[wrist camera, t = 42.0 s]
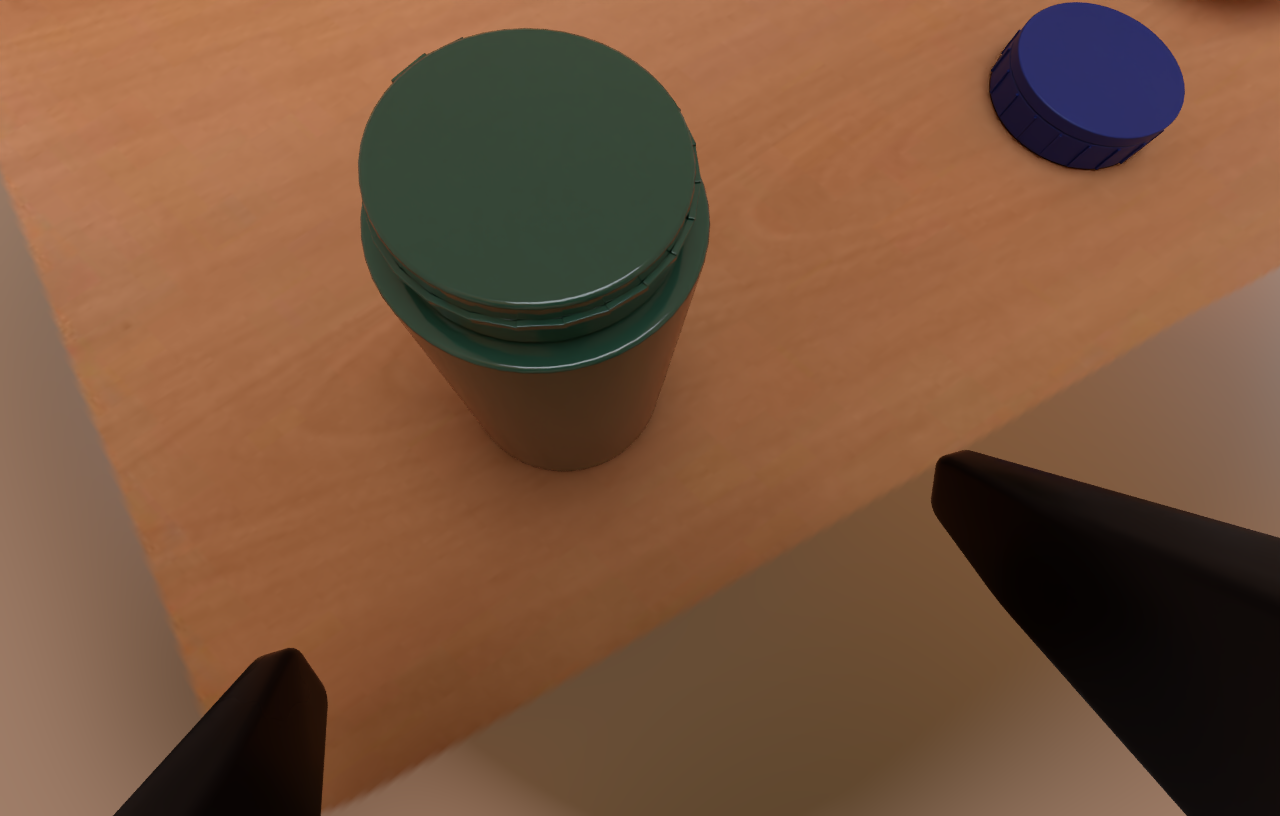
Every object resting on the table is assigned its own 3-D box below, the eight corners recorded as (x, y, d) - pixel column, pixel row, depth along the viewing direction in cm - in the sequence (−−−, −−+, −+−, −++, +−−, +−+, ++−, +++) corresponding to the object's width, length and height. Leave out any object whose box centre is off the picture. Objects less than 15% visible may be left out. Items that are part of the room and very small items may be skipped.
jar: (695, 370, 20) (802, 146, 10) (574, 511, 18) (544, 426, 8) (558, 262, 21) (519, -52, 10) (430, 388, 19) (231, 164, 9)
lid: (1161, 178, 24) (1205, 147, 22) (998, 161, 24) (1029, 129, 22) (1129, 48, 26) (1167, 10, 24) (978, 31, 26) (1005, -8, 24)
